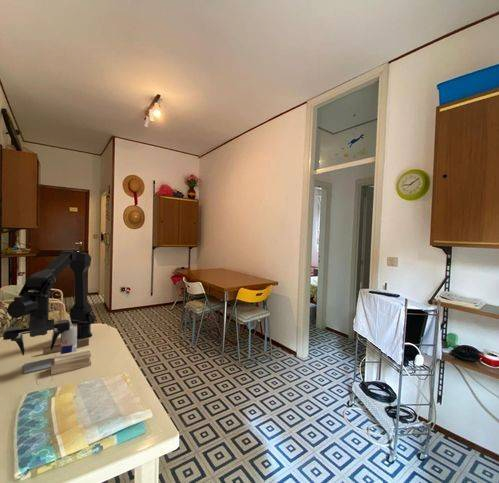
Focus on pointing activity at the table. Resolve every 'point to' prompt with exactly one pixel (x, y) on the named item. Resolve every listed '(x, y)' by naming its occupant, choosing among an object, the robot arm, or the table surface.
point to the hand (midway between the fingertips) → (37, 352)
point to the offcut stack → (70, 361)
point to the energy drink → (69, 340)
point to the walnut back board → (58, 346)
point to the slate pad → (37, 365)
